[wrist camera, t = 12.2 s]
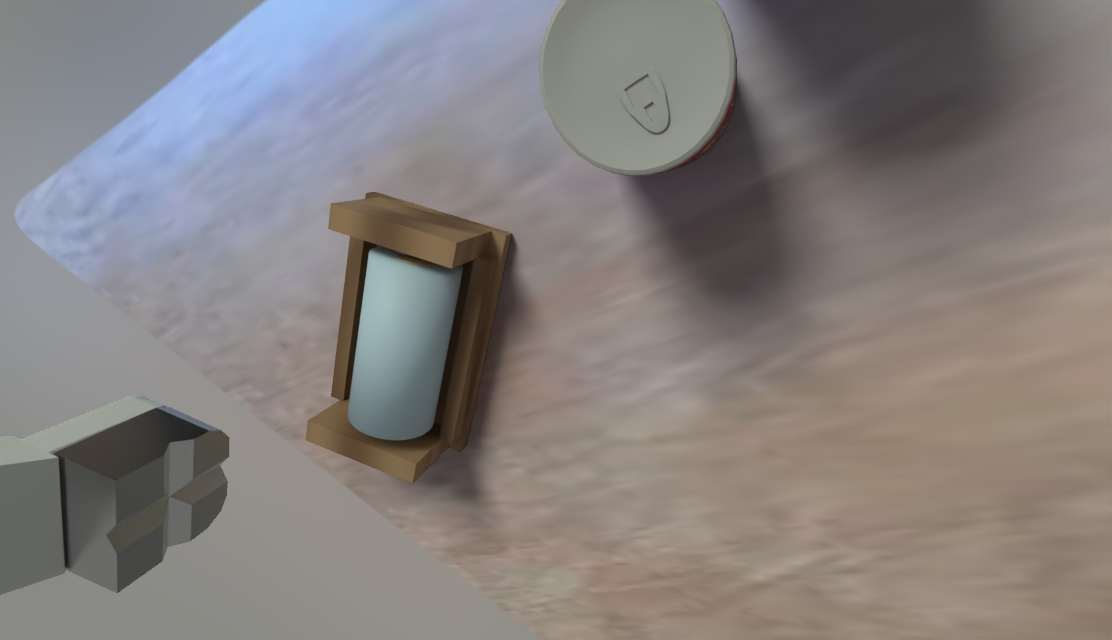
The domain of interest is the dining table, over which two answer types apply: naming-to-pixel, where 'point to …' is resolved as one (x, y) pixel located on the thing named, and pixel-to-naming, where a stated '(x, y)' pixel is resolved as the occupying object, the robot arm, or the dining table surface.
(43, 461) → the robot arm
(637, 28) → the canned food
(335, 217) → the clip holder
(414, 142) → the dining table surface
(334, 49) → the dining table surface
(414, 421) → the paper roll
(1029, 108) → the dining table surface
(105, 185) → the dining table surface
